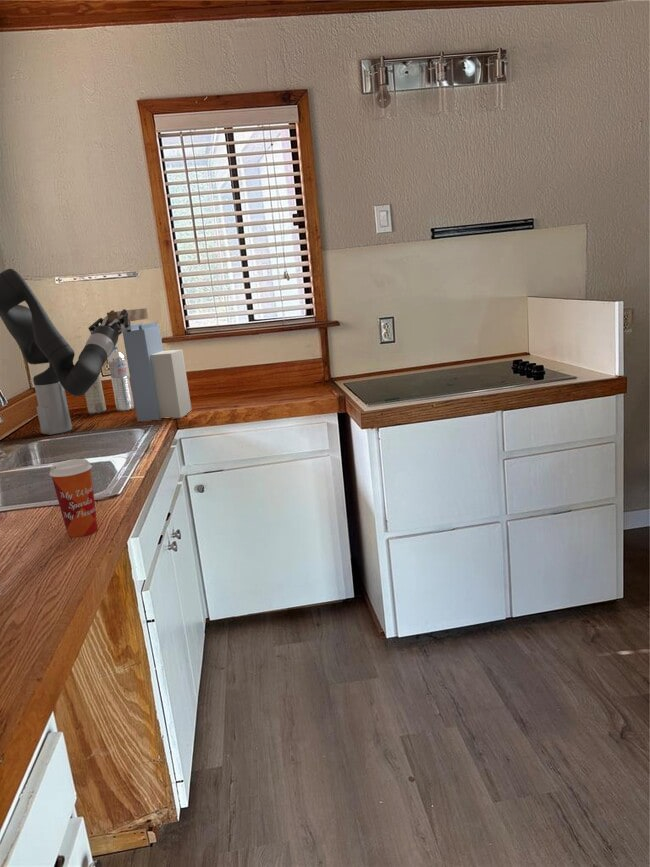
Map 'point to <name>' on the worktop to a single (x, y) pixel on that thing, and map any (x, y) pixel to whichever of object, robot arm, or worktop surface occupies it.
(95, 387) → the aerosol can
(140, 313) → the bar
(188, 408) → the white tall block
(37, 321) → the robot arm
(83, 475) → the paper cup
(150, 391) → the tower
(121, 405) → the water bottle
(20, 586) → the worktop surface
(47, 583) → the worktop surface
